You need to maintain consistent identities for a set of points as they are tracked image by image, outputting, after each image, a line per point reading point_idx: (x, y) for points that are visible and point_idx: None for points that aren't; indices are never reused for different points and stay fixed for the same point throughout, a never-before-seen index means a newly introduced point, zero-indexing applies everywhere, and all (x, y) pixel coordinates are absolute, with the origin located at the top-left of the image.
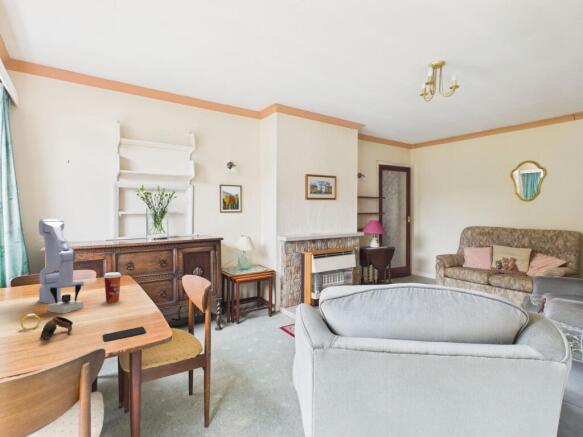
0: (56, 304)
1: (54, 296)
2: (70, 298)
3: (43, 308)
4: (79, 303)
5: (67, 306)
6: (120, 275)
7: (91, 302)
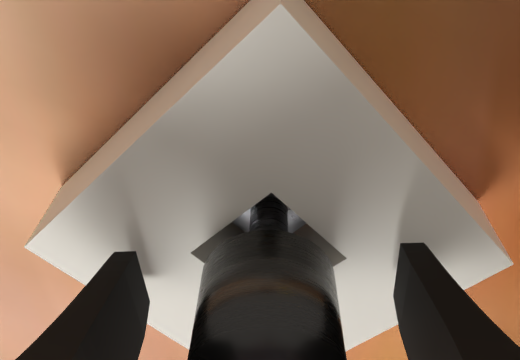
0: None
1: (500, 346)
2: (196, 307)
3: (509, 315)
4: (70, 198)
5: (220, 60)
6: None
7: (27, 318)
